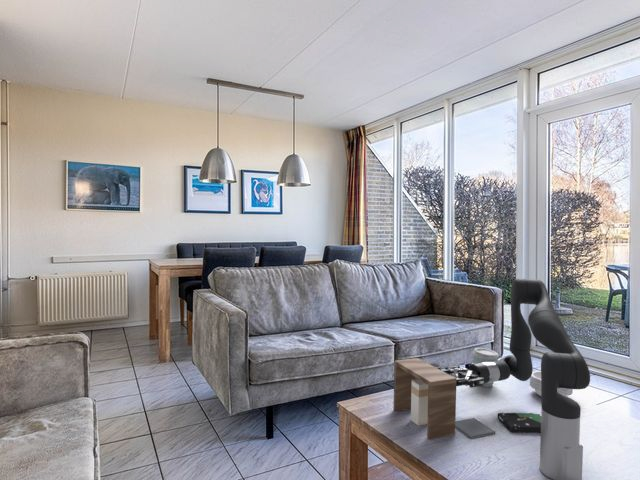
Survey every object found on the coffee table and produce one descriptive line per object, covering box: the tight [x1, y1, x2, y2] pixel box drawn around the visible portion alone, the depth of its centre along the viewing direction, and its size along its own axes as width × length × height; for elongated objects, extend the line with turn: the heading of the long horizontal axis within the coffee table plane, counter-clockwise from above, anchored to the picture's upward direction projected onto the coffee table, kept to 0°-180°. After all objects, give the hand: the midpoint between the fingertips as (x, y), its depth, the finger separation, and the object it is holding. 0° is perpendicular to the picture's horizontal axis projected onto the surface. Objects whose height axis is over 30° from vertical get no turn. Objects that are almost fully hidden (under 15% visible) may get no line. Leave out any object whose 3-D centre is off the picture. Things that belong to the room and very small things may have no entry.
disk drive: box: [497, 412, 541, 434], centre depth 139 cm, size 10×3×15 cm
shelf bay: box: [392, 357, 458, 440], centre depth 141 cm, size 22×10×18 cm, turn 21°
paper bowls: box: [529, 370, 574, 397], centre depth 165 cm, size 15×15×8 cm
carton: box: [410, 379, 428, 427], centre depth 141 cm, size 5×5×14 cm
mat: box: [455, 417, 496, 439], centre depth 136 cm, size 10×10×1 cm
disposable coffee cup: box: [472, 347, 499, 388], centre depth 176 cm, size 11×11×15 cm
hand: (447, 378), depth 145 cm, fingers open, 8 cm apart
